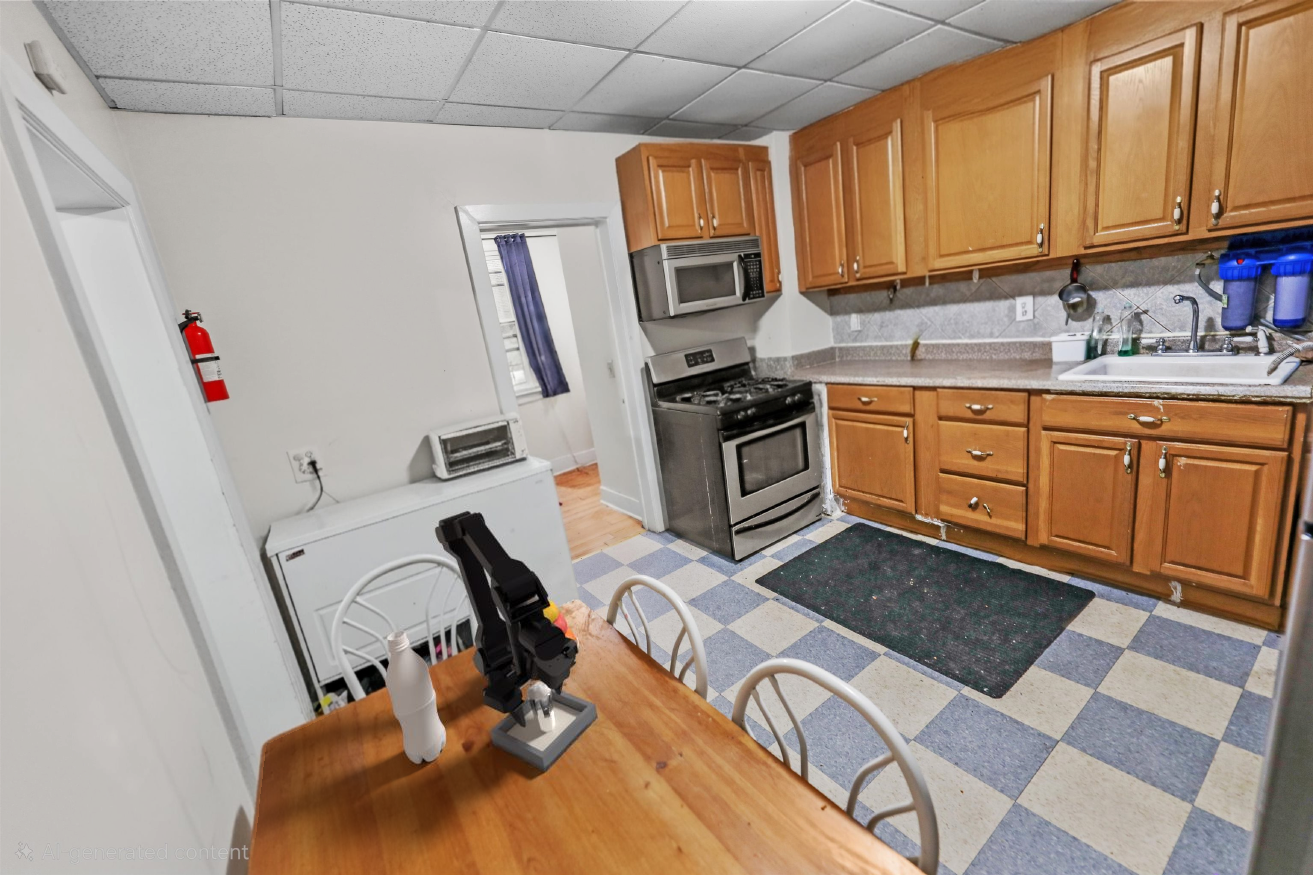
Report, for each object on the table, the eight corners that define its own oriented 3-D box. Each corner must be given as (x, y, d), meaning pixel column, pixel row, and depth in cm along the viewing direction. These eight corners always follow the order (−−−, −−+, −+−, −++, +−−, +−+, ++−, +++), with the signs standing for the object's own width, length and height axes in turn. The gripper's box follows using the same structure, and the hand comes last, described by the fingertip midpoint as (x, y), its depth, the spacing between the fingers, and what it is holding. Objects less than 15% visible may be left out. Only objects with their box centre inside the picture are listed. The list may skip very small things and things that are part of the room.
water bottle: (434, 769, 97) (400, 647, 91) (399, 767, 98) (364, 647, 93) (456, 738, 104) (426, 623, 98) (423, 737, 105) (392, 623, 100)
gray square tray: (493, 744, 101) (489, 730, 100) (546, 696, 112) (543, 683, 111) (545, 772, 93) (542, 757, 92) (597, 717, 104) (595, 704, 103)
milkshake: (545, 713, 106) (535, 668, 103) (563, 723, 102) (554, 677, 100) (526, 728, 102) (516, 683, 100) (545, 739, 99) (535, 692, 97)
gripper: (516, 680, 86) (535, 761, 89) (592, 618, 101) (605, 690, 104) (472, 662, 92) (491, 739, 96) (550, 606, 107) (564, 674, 110)
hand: (541, 709), depth 101 cm, fingers open, 9 cm apart
